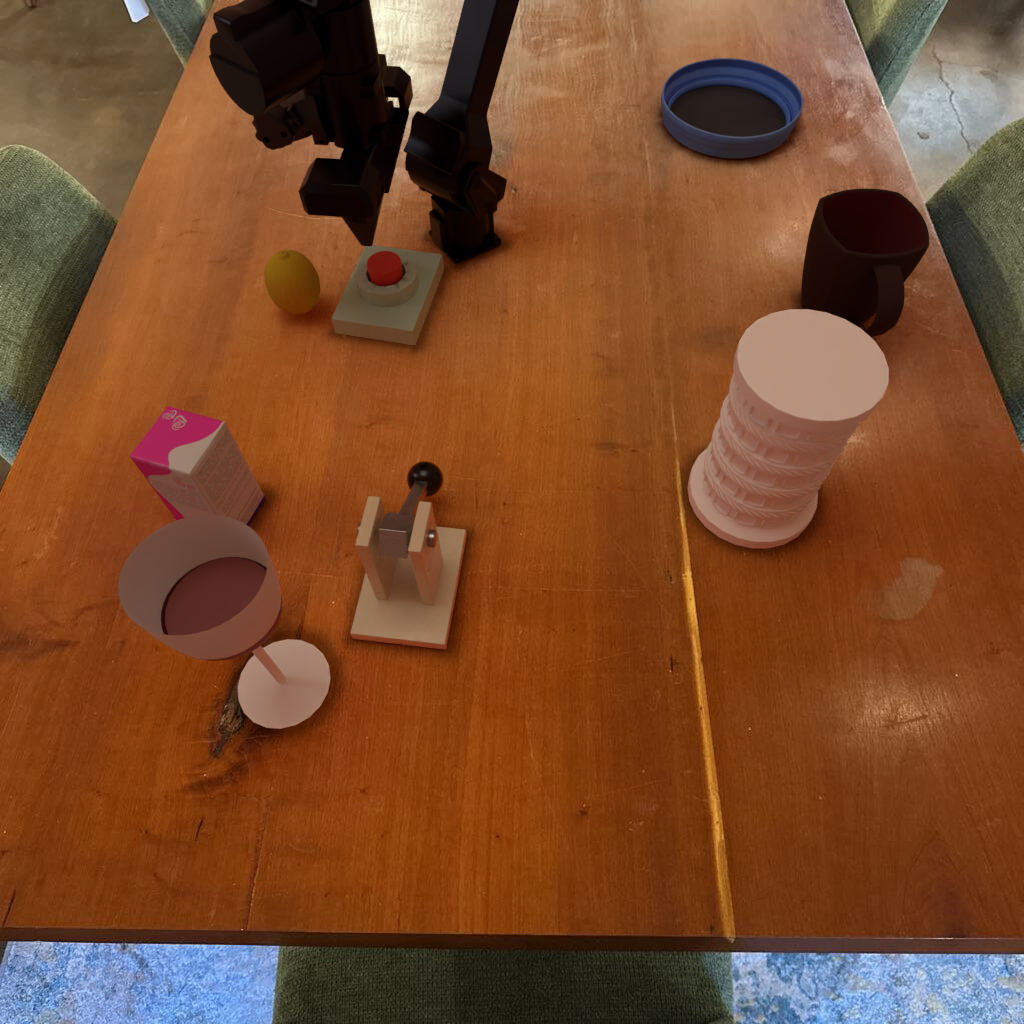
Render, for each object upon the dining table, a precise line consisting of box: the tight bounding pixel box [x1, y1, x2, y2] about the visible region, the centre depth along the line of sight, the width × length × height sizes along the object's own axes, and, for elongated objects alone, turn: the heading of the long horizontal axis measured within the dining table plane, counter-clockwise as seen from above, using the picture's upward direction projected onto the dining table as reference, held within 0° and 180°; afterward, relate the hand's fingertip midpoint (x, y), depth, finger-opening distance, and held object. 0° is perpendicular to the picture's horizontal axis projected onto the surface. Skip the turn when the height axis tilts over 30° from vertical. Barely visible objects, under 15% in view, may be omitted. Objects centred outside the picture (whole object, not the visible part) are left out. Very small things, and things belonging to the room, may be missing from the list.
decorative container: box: [686, 308, 890, 549], centre depth 63 cm, size 12×12×18 cm
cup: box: [800, 188, 930, 338], centre depth 77 cm, size 10×14×12 cm
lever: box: [378, 460, 444, 559], centre depth 63 cm, size 13×3×3 cm
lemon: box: [264, 249, 322, 315], centre depth 81 cm, size 6×6×8 cm
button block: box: [330, 244, 445, 347], centre depth 83 cm, size 12×9×4 cm
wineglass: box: [117, 515, 332, 730], centre depth 54 cm, size 8×9×20 cm
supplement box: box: [129, 405, 266, 527], centre depth 66 cm, size 6×6×12 cm
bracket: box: [349, 495, 468, 650], centre depth 62 cm, size 11×8×11 cm
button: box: [367, 251, 403, 287], centre depth 81 cm, size 4×4×2 cm
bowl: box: [660, 57, 805, 159], centre depth 100 cm, size 18×18×4 cm
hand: (375, 218), depth 75 cm, fingers open, 8 cm apart
